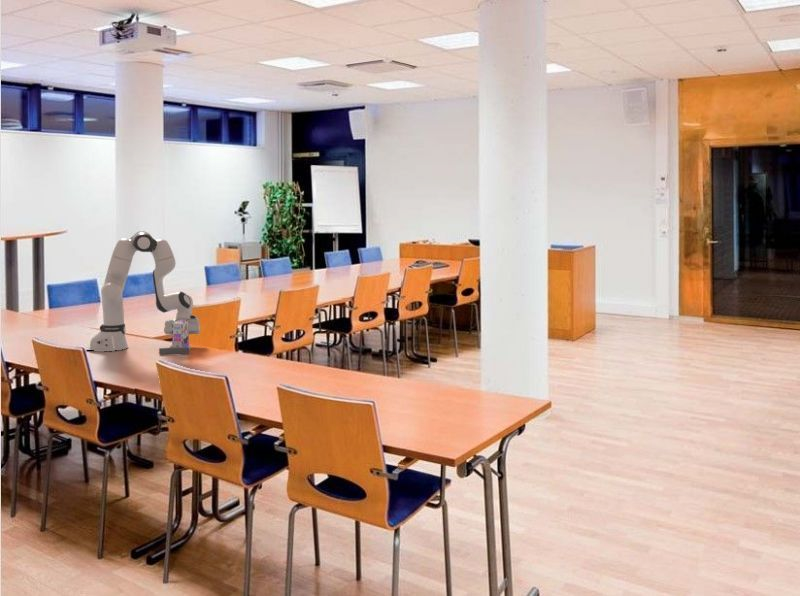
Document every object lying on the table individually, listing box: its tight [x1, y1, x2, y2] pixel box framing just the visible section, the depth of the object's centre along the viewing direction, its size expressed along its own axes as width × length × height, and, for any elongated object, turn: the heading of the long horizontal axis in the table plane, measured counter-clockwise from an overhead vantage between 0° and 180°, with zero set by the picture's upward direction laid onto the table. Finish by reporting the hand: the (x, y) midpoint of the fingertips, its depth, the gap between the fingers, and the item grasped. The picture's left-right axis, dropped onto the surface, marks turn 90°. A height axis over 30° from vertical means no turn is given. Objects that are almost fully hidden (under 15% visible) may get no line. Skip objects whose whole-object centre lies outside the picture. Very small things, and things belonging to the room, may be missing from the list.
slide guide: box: [158, 344, 192, 355], centre depth 417 cm, size 16×19×4 cm
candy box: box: [171, 320, 190, 348], centre depth 419 cm, size 14×6×16 cm, turn 1°
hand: (180, 339), depth 427 cm, fingers closed
